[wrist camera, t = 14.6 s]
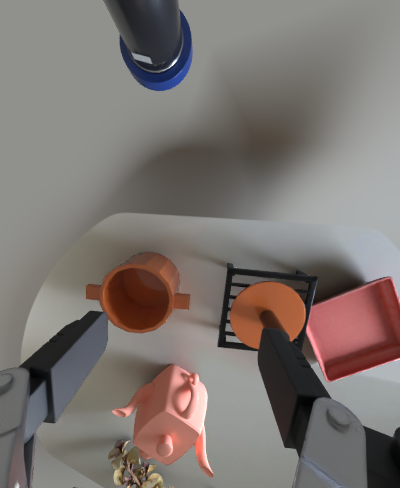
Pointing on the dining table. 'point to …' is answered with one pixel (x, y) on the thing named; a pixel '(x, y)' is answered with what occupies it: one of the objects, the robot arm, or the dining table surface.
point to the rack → (232, 271)
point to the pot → (140, 293)
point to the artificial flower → (154, 482)
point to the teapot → (170, 417)
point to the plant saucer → (356, 329)
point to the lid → (266, 312)
